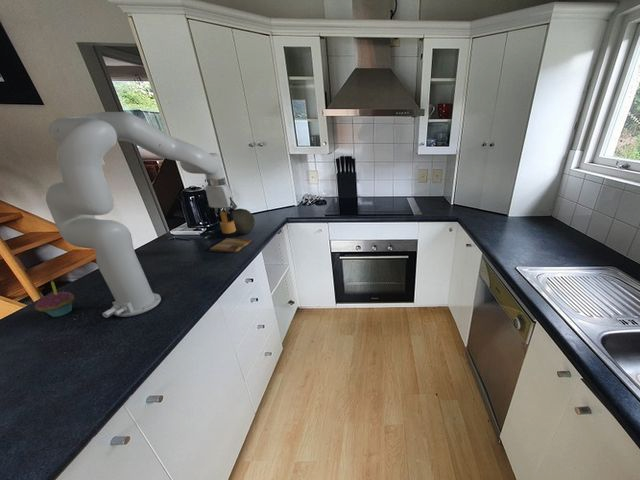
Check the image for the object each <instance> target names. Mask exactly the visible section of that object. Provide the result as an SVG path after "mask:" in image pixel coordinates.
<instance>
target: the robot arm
mask: <svg viewBox="0 0 640 480" xmlns="http://www.w3.org/2000/svg"><path fill="white" fill-rule="evenodd" d="M48 132H49V134H50V136H51V138H52V139H53V140H54V142H56V143H57V144H58V145H59V146H58V149H57V152H56V164H57V168H58V171H59V174H60V177H61V179H62V180H61V181H57V182H55V183H53V184H51V185H50V186H49V187H48V188H47V190H46V192H45V202H46V205H47V208H48V210H49V212H50V215H51V218H52V220H53V222H54V223H55V226H56V229H57V230H58V233H59V235H60V236H61V238H62V239H63V240H64V241H65V242H66V243H67V244H69V245H71V246H73V247H77V248H82V249H91V250H94V252H95V262H96V266H97V269H98V270H99V272H100V274H101V275H102V278H103V279H104V281H105V283H106V286H107V287H108V289H109V291H110V293H111V295H112V297H113V299H114V300H115V301H112V306H111V307H110V309H107V310H106V311H104V312H102V313H101V316H102V317H104V318H105V319H108V318H109V317H111V316H112V315H115V316H117V317H123V318H125V317H126V318H127V317H133V316H138V315H141V314H144V313H146V312H148V311H151V310H152V309H154V308H155V307H158V305H159V304H160V303H161V301H162V296H161V295H160V294H158V293H155V292H153V290H152V287H151V286H150V284H149V281H148V278H147V276H146V274H145V272H144V269H143V267H142V265H141V263H140V261H139V259H138V256H137V254H136V252H135V251H136V250H135V247H134V244H133V243H134V242H133V237H132V234H131V231H130V229H129V228H128V227H127V226H126V225H124V224H123V223H121V222H120V221H116V220H114V219H108V218H98V217H97V218H96V216H104V215H108V214H109V213H111V212H112V211H113V208H114V200H113V196H112V193H111V190H110V187H109V185H108V181H107V179H106V176H105V172H104V169H103V161H104V157H105V155H106V154H107V153H108V152H109V151H110V150H111V149H112V148H113V147H115V145H116V144H117V141H121V142H122V141H123V142H128V143H131V144H133V145H134V146H137V147H139V148H141V149H143V150H145V151H147V152H149V153H150V154H153V155H155V156H157V157H160V158H163V159H167V160H171V161H176V162H179V165H180V167H181V169H182V170H183V171H184V172H186V173H188V174H197V175H204V182H205V183H206V185H205V192H206V198H207V203H208V204H207V206H208V207H209V208H210V209H212V210H213V211H214V213H215V214H216V215H217V218H218V221H219V222H221V221H222V220H221V216H220V212H221V211H222V209H225V211H227V213H228V214H227V218H228V222H231V221H233V220H234V219H233V214H232V212H233V211H234V210H235V209H238V205H237V204H236V203H235V200H234V197H233V194H232V191H231V189H230V186H229V184H227V180H226V176H225V173H224V167H223V164H222V160H221V156H220V154H218V153H216V152H208V151H206V150H205V149H203V148H202V147H199V146H198V145H195V144H192V143H189V142H186V141H184V140H181V139H179V138H177V137H174V136H172V135H169V134H167V133H165V132H164V131H163V130H161V129H160V128H157V127H155V126H154V125H152V124H151V123H149V122H147V121H146V120H144V119H143V118H141V117H139V116H137V115H135V114H134V113H130V112H128V111H127V112H126V111H101V112H93V113H88V114H82V115H73V116H66V117H59V118H57V119H55V120H53V121H51V122H50V124H49V127H48Z"/></svg>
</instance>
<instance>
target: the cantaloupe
mask: <svg viewBox="0 0 640 480" xmlns="http://www.w3.org/2000/svg"><path fill="white" fill-rule="evenodd" d="M232 214H233V219H234V224H235V228H236V231H235V232H233V233H234V234H236V235H240V236H245V235H247V234H249V233H250V232H252V231H253V229H254V227H255V223H256V219H255V216H254V215H253V213H251V212H250V211H249V209H245V208H236V209H234V211H233V212H232Z"/></svg>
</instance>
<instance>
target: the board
mask: <svg viewBox="0 0 640 480" xmlns="http://www.w3.org/2000/svg"><path fill="white" fill-rule="evenodd" d="M251 243H252V239H248V238H247V239H246V238H245V239H244V238H230V237H226V238H225V239H223V240H221V241H220V242H218V243H217V244H215V245H213V246H212V247H210V248H209V251H210V252H221V253H238V252H239V251H240V250H242V249H243V248H245V247H247V246H248V245H249V244H251Z"/></svg>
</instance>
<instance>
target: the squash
mask: <svg viewBox="0 0 640 480" xmlns="http://www.w3.org/2000/svg"><path fill="white" fill-rule="evenodd" d="M227 214H228V213H227V211H226V209H225V208H222V210H221V212H220V216H221V220H222V221H219V225H220V229H221V233H222V234H233V233H234V232H235V231H236V228H235V224H234V220H233V221H231V222H228V218H227Z"/></svg>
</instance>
